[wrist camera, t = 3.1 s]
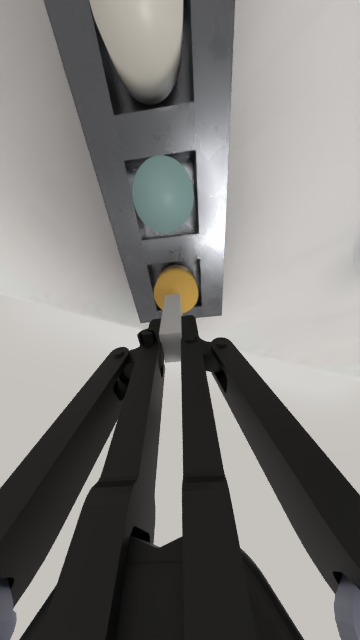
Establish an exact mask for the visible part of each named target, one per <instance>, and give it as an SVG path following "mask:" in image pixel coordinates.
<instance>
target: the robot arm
mask: <svg viewBox="0 0 360 640" xmlns="http://www.w3.org/2000/svg"><path fill="white" fill-rule="evenodd" d="M138 339H139V342H140V347H138V348H136V349H133V350H130V351H129V350H128V349H127V348H126V347H120V348H117V349H115V350H113V351H112V352H111V353H110V354H109V355H108V356H107V358H106V359H105V360H104V361H103V363H102V364H101V365H100V366H99V368H98V369H97V370H96V371H95V372H94V374H93V375H92V376H91V377H90V379H89V380H88V381H87V382H86V384H85V385H84V386H83V387H82V388H81V390H80V391H79V392H78V393H77V395H76V396H75V397H74V399H73V400H72V401H71V402H70V403H69V404H68V406H67V407H66V408H65V409H64V411H63V412H62V413H61V414H60V415H59V417H58V418H57V419H56V420H55V422H54V423H53V424H52V425H51V427H50V428H49V429H48V430H47V431H46V433H45V434H44V435H43V436H42V438H41V439H40V440H39V441H38V443H37V444H36V445H35V446H34V447H33V449H32V450H31V451H30V453H29V454H28V455H27V456H26V457H25V459H24V460H23V461H22V462H21V464H20V465H19V466H18V467H17V468H16V470H15V471H14V472H13V473H12V475H11V476H10V477H9V478H8V480H7V481H6V482H5V483H4V485H3V486H2V487H1V488H0V640H10V638H11V636H12V634H13V632H14V628H15V624H16V613H15V612H14V611H13V608H14V606H15V605H16V603H17V602H18V600H19V599H20V597H21V596H22V594H23V593H24V592H25V590H26V589H27V587H28V586H29V584H30V583H31V581H32V579H33V578H34V576H35V574H36V573H37V571H38V570H39V568H40V566H41V565H42V563H43V562H44V560H45V558H46V556H47V555H48V553H49V551H50V549H51V547H52V545H53V544H54V542H55V540H56V538H57V536H58V534H59V532H60V530H61V529H62V526H63V525H64V523H65V521H66V519H67V517H68V515H69V513H70V511H71V509H72V507H73V505H74V503H75V501H76V499H77V497H78V495H79V493H80V492H81V490H82V488H83V486H84V484H85V482H86V480H87V478H88V476H89V474H90V472H91V470H92V468H93V466H94V464H95V462H96V460H97V458H98V457H99V454H100V453H101V450H102V449H103V447H104V445H105V443H106V441H107V439H108V437H109V435H110V433H111V431H112V429H113V427H114V425H115V423H116V422H117V424H116V428H115V431H114V434H113V438H112V441H111V445H110V448H109V451H108V455H107V458H106V461H105V465H104V468H103V471H102V474H101V477H100V479H99V481H98V482H97V483H96V484H95V485H94V486H93V487H92V488H91V490H90V491H89V493H88V495H87V497H86V500H85V502H84V505H83V507H82V510H81V513H80V517H79V520H78V523H77V525H76V529H75V531H74V534H73V538H72V541H71V543H70V546H69V549H68V553H67V556H66V559H65V562H64V565H63V568H62V571H61V574H60V577H59V580H58V583H57V585H56V587H55V588H54V590H53V591H52V592H51V594H50V595H49V597H48V599H47V600H46V602H45V603H44V604H43V606H42V608H41V609H40V610H39V612H38V613H37V615H36V616H35V617H34V619H33V620H32V622H31V623H30V625H29V626H28V628H27V629H26V631H25V632H24V634H23V635H22V637H21V638H20V640H304V639H303V637H302V636H301V634H300V632H299V631H298V629H297V628H296V626H295V625H294V623H293V621H292V620H291V618H290V617H289V615H288V614H287V612H286V610H285V609H284V607H283V605H282V604H281V602H280V601H279V599H278V597H277V596H276V594H275V593H274V591H273V590H272V588H271V586H270V585H269V584H268V582H267V580H266V578H265V577H264V575H263V574H262V572H261V571H260V570H259V568H258V567H257V566H256V564H255V563H254V562H253V561H252V559H251V558H250V557H249V556H248V555H247V554H246V553H245V552H244V551H243V550H242V549H241V548H240V546H239V540H238V534H237V530H236V524H235V519H234V514H233V508H232V503H231V498H230V493H229V488H228V484H227V480H226V477H225V474H224V469H223V465H222V459H221V454H220V448H219V442H218V437H217V431H216V425H215V420H214V415H213V409H212V403H211V399H210V393H209V387H208V382H207V376H206V371H210V372H212V375H213V377H214V379H215V380H216V382H217V384H218V386H219V388H220V390H221V392H222V394H223V396H224V397H225V399H226V401H227V403H228V405H229V407H230V409H231V411H232V413H233V414H234V416H235V418H236V420H237V422H238V424H239V426H240V428H241V429H242V432H243V433H244V435H245V437H246V439H247V441H248V443H249V445H250V447H251V449H252V450H253V452H254V454H255V456H256V458H257V460H258V462H259V464H260V466H261V467H262V469H263V471H264V473H265V475H266V477H267V479H268V481H269V483H270V485H271V486H272V488H273V490H274V492H275V494H276V496H277V498H278V500H279V502H280V503H281V505H282V507H283V509H284V511H285V513H286V515H287V517H288V518H289V520H290V522H291V524H292V526H293V528H294V530H295V532H296V533H297V535H298V537H299V539H300V540H301V542H302V544H303V546H304V548H305V549H306V551H307V553H308V554H309V556H310V557H311V559H312V561H313V562H314V564H315V565H316V567H317V568H318V570H319V571H320V573H321V574H322V576H323V578H324V579H325V581H326V582H327V583H328V585H329V586H330V587H331V589H332V590H333V592H334V593H335V594H336V595H335V601H334V611H335V620H336V623H337V627H338V631H339V635H340V637H341V640H360V495H359V494H358V493H357V491H356V490H355V489H354V488H353V487H352V486H351V484H350V483H349V482H348V481H347V480H346V478H345V477H344V476H343V475H342V473H340V471H339V470H338V469H337V468H336V466H335V465H334V464H333V463H332V462H331V460H330V459H329V458H328V457H327V456H326V454H325V453H324V452H323V451H322V450H321V448H320V447H319V446H318V445H317V444H316V442H315V441H314V440H313V439H312V438H311V437H310V435H309V434H308V433H307V432H306V431H305V429H304V428H303V427H302V426H301V425H300V423H299V422H298V421H297V420H296V419H295V417H294V416H293V415H292V414H291V413H290V411H288V409H287V408H286V407H285V406H284V404H283V403H282V402H281V401H280V400H279V399H278V397H277V396H276V395H275V394H274V393H273V391H272V390H271V389H270V388H269V386H268V385H267V384H266V383H265V382H264V381H263V379H262V378H261V377H260V376H259V375H258V373H257V372H256V371H255V370H254V369H253V367H252V366H251V365H250V364H249V363H248V361H246V359H245V358H244V357H243V355H242V354H241V353H240V352H239V351H238V349H237V348H236V347H235V346H234V345H233V343H232V342H231V341H230V340H228V339H226V338H216V339H214V340H213V341H212V342H207V341H204V340H202V339H200V338H199V335H198V330H197V325H196V319H195V317H194V316H193V315H186V316H182V307H181V299H180V293H179V294H170V295H165V300H164V306H163V312H162V318H160V319H153V320H152V321H151V322H150V324H149V327H148V329H145V330H142V331H141V332H139V334H138ZM164 359H165V362H176V361H181V375H182V376H181V379H182V429H183V483H182V528H183V529H182V530H183V531H182V532H183V536H182V537H180V538H178V539H176V540H174V541H172V542H170V543H168V544H166V545H164V546H162V547H158V546H156V545H153V542H154V529H155V497H154V495H155V480H156V468H157V456H158V445H159V433H160V421H161V409H162V397H163V385H164V373H165V366H164ZM117 420H118V421H117Z"/></svg>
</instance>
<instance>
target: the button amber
mask: <svg viewBox="0 0 360 640" xmlns="http://www.w3.org/2000/svg"><path fill="white" fill-rule="evenodd" d="M179 293H180V299H181V307H182V313H185V312H187V311H189V310H191V309H192V308H193V307H194V305H195V304H196V302H197V300H198V288H197V284H196V280H195V277H194V275H193V273H192V272H191V271H190V270H189V269H188V268H186V267H185V266H182V265H171V266H168V267H166V268H165V269H163V270H162V272H161V273H160V274H159V277H158V279H157V282H156V285H155V288H154V299H155V301H156V303H157V305H158V306H159V307H160V308H161V309H162V310H163V306H164V300H165V295H170V294H179Z"/></svg>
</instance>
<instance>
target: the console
mask: <svg viewBox="0 0 360 640" xmlns="http://www.w3.org/2000/svg"><path fill="white" fill-rule="evenodd" d="M44 2H45V6H46V9H47V12H48V16H49V19H50V22H51V26H52V29H53V32H54V36H55V39H56V42H57V46H58V49H59V52H60V56H61V59H62V62H63V66H64V69H65V72H66V76H67V79H68V82H69V86H70V89H71V92H72V96H73V99H74V102H75V106H76V109H77V112H78V116H79V119H80V122H81V126H82V129H83V132H84V136H85V139H86V142H87V146H88V149H89V152H90V156H91V159H92V162H93V166H94V169H95V172H96V176H97V179H98V182H99V186H100V189H101V192H102V196H103V199H104V202H105V206H106V209H107V212H108V216H109V219H110V222H111V226H112V229H113V232H114V236H115V239H116V242H117V246H118V249H119V252H120V256H121V259H122V262H123V266H124V269H125V272H126V276H127V279H128V282H129V286H130V289H131V292H132V296H133V299H134V302H135V306H136V309H137V312H138V316H139V319H140V322H141V323H146V322H151V321H152V320H153V319H160V318H162V312H163V310H162V309H161V308H160V307H159V306H158V305H157V303H156V301H155V299H154V288H155V285H156V282H157V279H158V277H159V274H160V273H161V272H162V270H163V269H165V268H166V267H168V266H171V265H182V266H185V267H186V268H188V269H189V270H190V271H191V272H192V273H193V275H194V277H195V280H196V284H197V288H198V300H197V302H196V304H195V305H194V307H193V308H192V309H191V310H189V311H187V312H185V313H182V316H186V315H193V316H194V317H195V318H199V317H210V316H220V315H222V293H223V270H224V246H225V223H226V199H227V176H228V152H229V129H230V105H231V82H232V58H233V35H234V11H235V0H183V38H182V60H181V67H180V71H179V75H178V78H177V81H176V83H175V86H174V87H173V89H172V91H171V92H170V94H169V95H168V96H167V97H166V98H165V99H164V100H163V101H161V102H159V103H157V104H152V105H148V104H144V103H141V102H139V101H137V100H136V99H135V98H133V97H132V96H131V95H130V94H129V92H128V91H127V90H126V89H125V87H124V85H123V84H122V82H121V80H120V78H119V76H118V74H117V71H116V69H115V67H114V64H113V62H112V60H111V57H110V55H109V53H108V50H107V48H106V46H105V43H104V41H103V39H102V36H101V34H100V32H99V29H98V27H97V24H96V22H95V19H94V16H93V13H92V9H91V5H90V1H89V0H44ZM157 155H165V156H169V157H172V158H174V159H175V160H177V161H178V162H179V163H180V164H181V165H182V166H183V167H184V168H185V169H186V171H187V173H188V174H189V177H190V179H191V182H192V186H193V193H194V200H193V207H192V211H191V213H190V216H189V218H188V219H187V221H186V222H185V223H184V225H183V226H182V227H180V228H179V229H177V230H176V231H173V232H170V233H160V232H156V231H154V230H152V229H150V228H149V227H147V226H146V225H145V224H144V223H143V221H142V220H141V219H140V217H139V216H138V214H137V212H136V209H135V206H134V203H133V196H132V187H133V181H134V177H135V175H136V172H137V171H138V169H139V167H140V166H141V165H142V164H143V163H144V162H145V161H146V160H147V159H149V158H151V157H153V156H157Z"/></svg>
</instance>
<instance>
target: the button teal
mask: <svg viewBox="0 0 360 640" xmlns="http://www.w3.org/2000/svg"><path fill="white" fill-rule="evenodd" d="M132 196H133V203H134V206H135V209H136V212H137V214H138V216H139V217H140V219H141V220H142V221H143V223H144V224H145V225H146V226H147V227H149V228H150V229H152V230H154V231H156V232H160V233H170V232H173V231H176V230H177V229H179V228H180V227H182V226H183V225H184V223H185V222H186V221H187V219H188V218H189V216H190V213H191V211H192V207H193V200H194V193H193V186H192V182H191V179H190V177H189V174H188V173H187V171H186V169H185V168H184V167H183V166H182V165H181V164H180V163H179V162H178V161H177V160H175V159H174V158H172V157H169V156H165V155H157V156H153V157H151V158H149V159H147V160H146V161H145V162H144V163H143V164H142V165H141V166H140V167H139V169H138V171H137V172H136V175H135V177H134V181H133V187H132Z"/></svg>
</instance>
